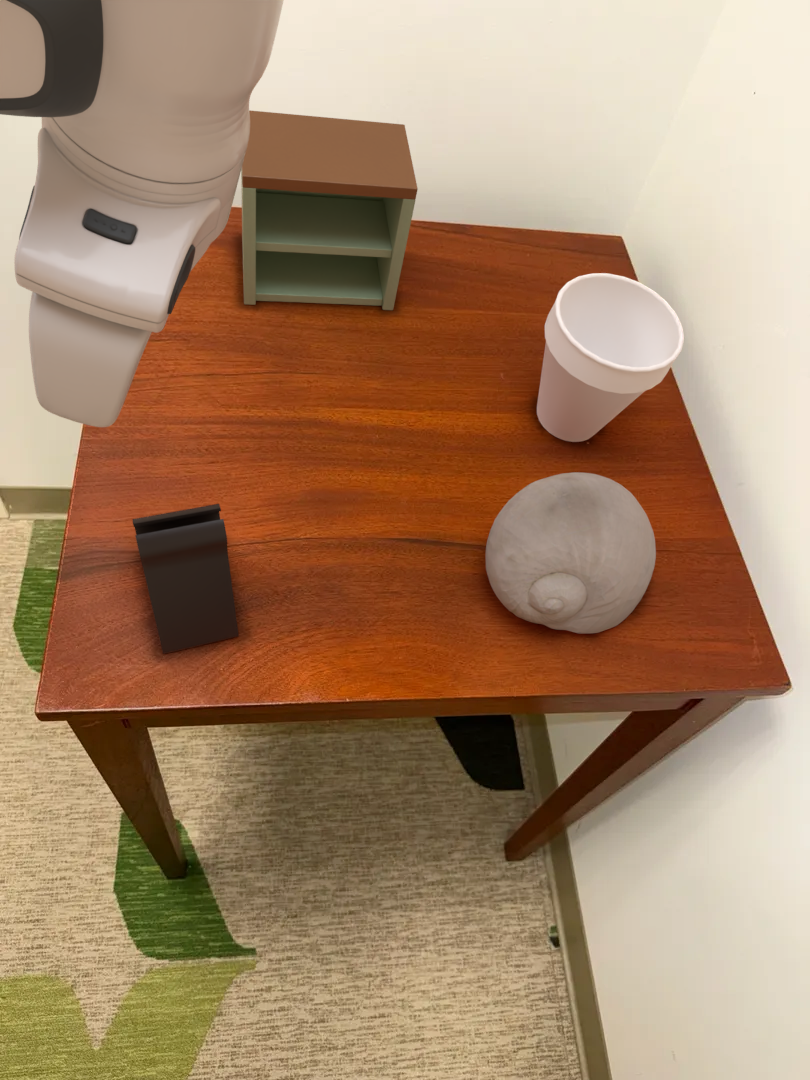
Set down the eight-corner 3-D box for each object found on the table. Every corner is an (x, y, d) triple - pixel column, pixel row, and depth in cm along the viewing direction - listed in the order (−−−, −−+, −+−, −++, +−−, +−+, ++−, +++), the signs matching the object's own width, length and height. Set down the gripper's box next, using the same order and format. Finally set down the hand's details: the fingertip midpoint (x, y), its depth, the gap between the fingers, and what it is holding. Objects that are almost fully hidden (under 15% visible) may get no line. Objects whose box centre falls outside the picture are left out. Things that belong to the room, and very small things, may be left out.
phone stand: (238, 638, 62) (236, 568, 52) (162, 655, 60) (144, 587, 50) (216, 544, 66) (209, 462, 56) (144, 557, 64) (123, 475, 54)
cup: (620, 476, 77) (685, 386, 66) (504, 445, 77) (548, 348, 65) (626, 389, 84) (685, 292, 72) (518, 359, 83) (561, 257, 72)
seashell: (466, 581, 76) (462, 601, 61) (520, 450, 75) (529, 438, 60) (609, 641, 75) (640, 675, 60) (667, 509, 74) (713, 511, 59)
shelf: (244, 304, 81) (242, 175, 68) (242, 240, 85) (240, 109, 73) (393, 310, 84) (418, 188, 71) (383, 248, 89) (404, 124, 76)
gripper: (136, 7, 40) (117, 205, 52) (-3, 289, 31) (13, 454, 43) (252, 61, 42) (209, 241, 54) (155, 343, 33) (128, 487, 44)
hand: (122, 337), depth 48 cm, fingers open, 8 cm apart
